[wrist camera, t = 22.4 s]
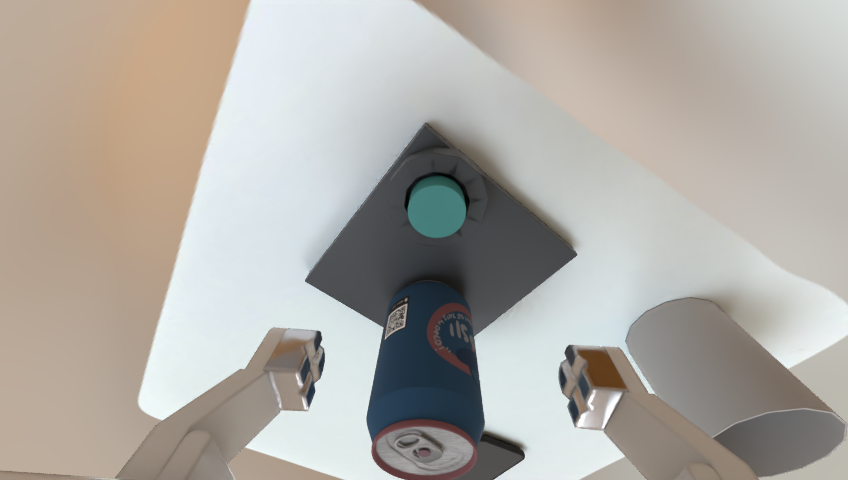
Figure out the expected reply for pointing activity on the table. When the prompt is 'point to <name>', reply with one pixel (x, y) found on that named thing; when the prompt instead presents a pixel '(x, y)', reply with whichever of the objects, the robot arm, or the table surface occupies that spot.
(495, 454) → the smartphone
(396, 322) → the soda can
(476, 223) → the scale
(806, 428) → the cup
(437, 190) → the tare button
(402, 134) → the table surface
